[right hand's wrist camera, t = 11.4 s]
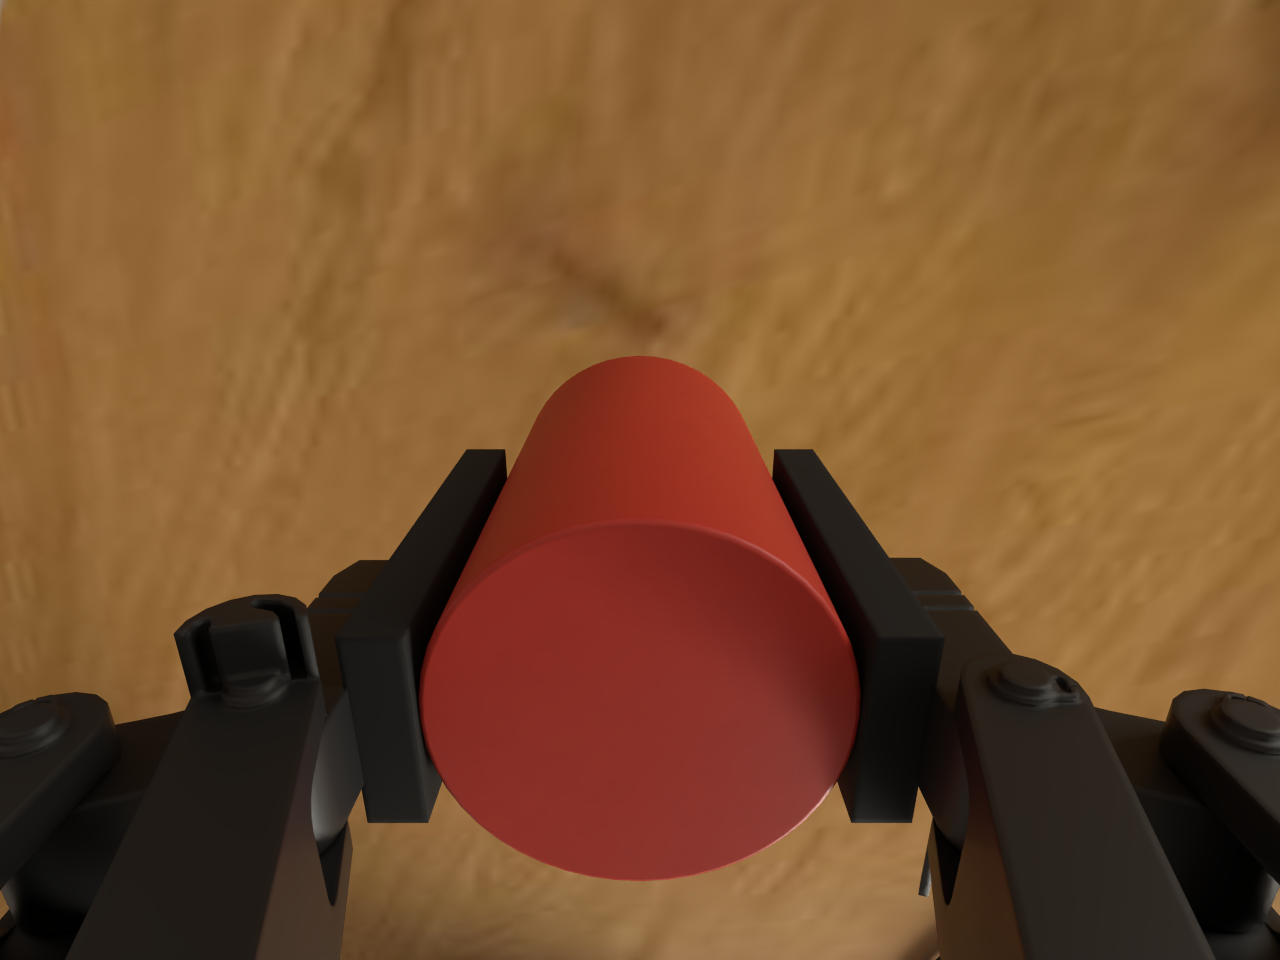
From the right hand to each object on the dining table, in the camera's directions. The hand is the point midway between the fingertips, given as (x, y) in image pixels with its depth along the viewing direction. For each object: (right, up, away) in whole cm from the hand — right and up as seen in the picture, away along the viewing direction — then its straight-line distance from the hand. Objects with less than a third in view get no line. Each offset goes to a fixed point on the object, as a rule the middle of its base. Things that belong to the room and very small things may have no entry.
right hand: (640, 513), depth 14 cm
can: (0, +1, +2) cm, 2 cm away
